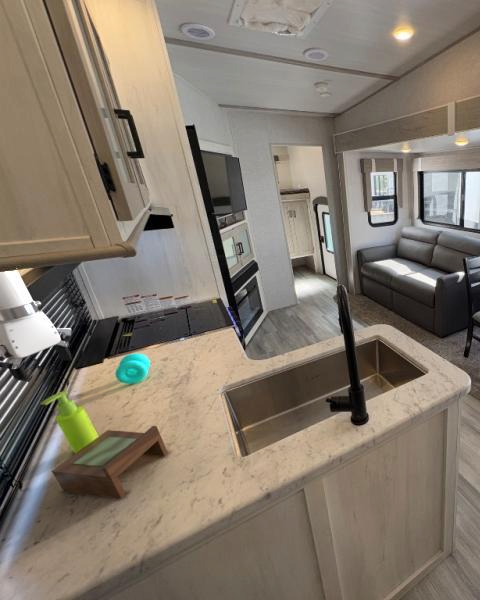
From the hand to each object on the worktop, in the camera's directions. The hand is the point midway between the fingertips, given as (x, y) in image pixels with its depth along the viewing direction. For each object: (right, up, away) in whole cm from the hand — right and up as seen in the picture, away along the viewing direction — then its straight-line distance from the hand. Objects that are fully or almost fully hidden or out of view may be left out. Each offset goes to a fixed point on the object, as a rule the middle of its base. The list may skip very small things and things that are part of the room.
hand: (46, 369), depth 84 cm
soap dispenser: (+1, -27, +10) cm, 29 cm away
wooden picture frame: (+19, -29, +1) cm, 34 cm away
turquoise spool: (-14, -14, +45) cm, 50 cm away
